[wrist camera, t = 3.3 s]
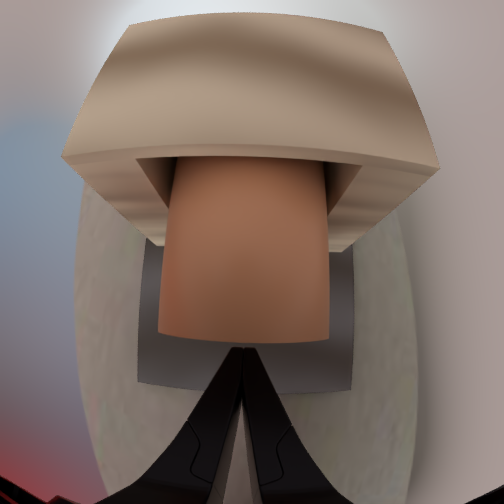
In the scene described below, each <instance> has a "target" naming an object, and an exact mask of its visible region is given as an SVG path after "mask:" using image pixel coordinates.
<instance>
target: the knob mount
mask: <svg viewBox="0 0 504 504" xmlns="http://www.w3.org/2000/svg"><path fill="white" fill-rule="evenodd" d="M178 156H254V157H277V158H293V159H307V160H318V161H323V167H324V178H325V191H326V205H327V221H328V243H329V285H330V311H329V339H326V340H320V341H312V342H298V343H237V342H220V341H208V340H198V339H190V338H182V337H176V336H170V335H166V334H162V333H159V332H158V318H159V301H160V287H161V275H162V264H163V254H164V245H165V236H166V228H167V220H168V213H169V206H170V199H171V192H172V186H173V180H174V174H175V168H176V163H177V157H178ZM61 157H62V158H63V159H64V160H65V162H66V163H67V164H69V165H70V166H71V167H72V168H73V169H74V170H75V171H76V172H77V173H78V174H79V175H80V176H81V177H82V178H83V179H84V180H85V181H86V182H87V183H88V184H89V185H90V186H91V187H92V188H93V189H94V190H95V191H96V192H97V193H98V194H99V195H101V196H102V197H103V198H104V199H105V200H106V201H107V202H108V203H109V204H110V205H111V206H112V207H113V208H115V209H116V210H117V211H118V212H119V213H120V214H121V215H122V216H123V217H124V218H126V219H127V220H128V221H129V222H130V223H131V224H132V225H133V226H134V227H136V228H137V229H138V230H139V231H140V232H141V233H142V234H144V235H145V236H146V237H147V238H146V245H145V254H144V263H143V272H142V283H141V295H140V309H139V328H138V382H141V383H147V384H153V385H160V386H167V387H174V388H182V389H191V390H202V391H205V390H206V388H207V387H208V385H209V383H210V382H211V380H212V378H213V377H214V375H215V373H216V372H217V370H218V368H219V367H220V365H221V363H222V362H223V360H224V358H225V357H226V355H227V353H228V352H229V350H230V348H231V347H233V346H235V347H243V351H244V348H245V347H255V348H256V349H257V351H258V354H259V356H260V358H261V360H262V362H263V365H264V367H265V369H266V371H267V373H268V375H269V377H270V380H271V382H272V384H273V386H274V388H275V390H276V392H277V394H297V393H320V392H335V391H346V390H351V381H352V365H353V343H354V274H353V251H352V243H354V242H355V241H356V240H357V239H359V238H360V237H361V236H362V235H364V234H365V233H366V232H367V231H368V230H370V229H371V228H372V227H373V226H375V225H376V224H377V223H378V222H379V221H381V220H382V219H383V218H384V217H385V216H387V215H388V214H389V213H390V212H391V211H392V210H394V209H395V208H396V207H397V206H398V205H399V204H401V203H402V202H403V201H404V200H405V199H406V198H407V197H409V196H410V195H411V194H412V193H413V192H414V191H415V190H417V189H418V188H419V187H420V186H421V185H422V184H423V183H425V182H426V181H427V180H428V179H429V178H430V177H431V176H432V175H433V174H435V173H436V172H437V171H438V170H439V169H440V166H439V163H438V159H437V156H436V153H435V149H434V146H433V143H432V140H431V137H430V134H429V131H428V128H427V126H426V123H425V120H424V118H423V115H422V112H421V110H420V107H419V105H418V102H417V100H416V98H415V95H414V93H413V91H412V88H411V86H410V84H409V82H408V80H407V78H406V75H405V73H404V71H403V69H402V67H401V65H400V63H399V61H398V59H397V57H396V56H395V54H394V52H393V50H392V48H391V46H390V44H389V43H388V41H387V39H386V37H385V36H384V34H383V32H380V31H376V30H372V29H368V28H364V27H361V26H356V25H352V24H347V23H343V22H337V21H332V20H325V19H320V18H313V17H305V16H297V15H287V14H272V13H210V14H197V15H187V16H178V17H171V18H165V19H158V20H152V21H147V22H142V23H137V24H133V25H129V27H128V28H127V29H126V31H125V32H124V34H123V35H122V37H121V38H120V40H119V41H118V43H117V44H116V46H115V47H114V49H113V51H112V52H111V54H110V55H109V57H108V59H107V60H106V62H105V64H104V65H103V67H102V69H101V70H100V73H99V74H98V76H97V78H96V79H95V81H94V83H93V85H92V87H91V89H90V91H89V93H88V95H87V97H86V99H85V101H84V103H83V105H82V107H81V109H80V111H79V114H78V116H77V118H76V120H75V123H74V126H73V127H72V130H71V132H70V134H69V137H68V139H67V142H66V145H65V148H64V150H63V153H62V156H61Z"/></svg>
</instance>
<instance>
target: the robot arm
mask: <svg viewBox="0 0 504 504" xmlns="http://www.w3.org/2000/svg"><path fill="white" fill-rule="evenodd" d="M241 402H242V410H243V420H244V430H245V439H246V448H247V457H248V466H249V474H250V482H251V490H252V498H253V504H353V503H352V502H351V501H349V500H348V499H346V498H345V497H344V496H342V495H341V494H340V493H339V492H338V491H337V490H336V489H335V488H334V487H333V486H332V485H331V483H330V482H329V481H328V480H327V478H326V477H325V476H324V474H323V473H322V472H321V470H320V469H319V468H318V466H317V465H316V463H315V462H314V461H313V459H312V458H311V457H310V455H309V453H308V452H307V450H306V449H305V447H304V446H303V444H302V442H301V440H300V439H299V437H298V435H297V433H296V431H295V429H294V427H293V426H291V425H292V423H291V421H290V419H289V417H288V415H287V413H286V411H285V409H284V407H283V405H282V403H281V401H280V398H279V396H278V394H277V392H276V390H275V388H274V386H273V384H272V382H271V380H270V377H269V375H268V373H267V371H266V369H265V367H264V365H263V362H262V360H261V358H260V356H259V354H258V351H257V349H256V348H255V347H245V348H244V351H243V347H235V346H233V347H231V348H230V350H229V352H228V353H227V355H226V357H225V358H224V360H223V362H222V363H221V365H220V367H219V368H218V370H217V372H216V373H215V375H214V377H213V378H212V380H211V382H210V383H209V385H208V387H207V388H206V390H205V391H204V393H203V395H202V396H201V398H200V400H199V401H198V403H197V404H196V406H195V408H194V409H193V411H192V412H191V414H190V416H189V417H188V419H187V420H188V421H186V422H185V423H184V425H183V427H182V428H181V430H180V431H179V433H178V434H177V436H176V437H175V438H174V440H173V441H172V442H171V444H170V445H169V446H168V447H167V448H166V450H165V451H164V452H163V453H162V454H161V455H160V457H159V458H158V459H157V460H156V461H155V462H154V463H153V464H152V465H151V467H150V468H149V469H148V470H147V471H146V472H145V473H144V474H143V475H142V476H141V477H140V478H139V479H138V480H136V481H135V482H134V483H132V484H131V485H129V486H127V487H126V488H124V489H122V490H120V491H118V492H116V493H115V494H113V495H111V496H109V497H107V498H105V499H103V500H101V501H99V502H97V503H95V504H222V503H223V498H224V493H225V488H226V483H227V478H228V473H229V468H230V463H231V458H232V452H233V447H234V442H235V436H236V431H237V426H238V420H239V415H240V409H241ZM0 504H79V503H77V502H74V501H72V500H69V499H67V498H64V497H62V496H59V495H56V496H55V497H54V498H52V499H51V500H50V501H49V502H45V501H43V500H42V499H40V498H38V497H36V496H35V495H33V494H31V493H30V492H28V491H27V490H25V489H23V488H22V487H20V486H18V485H16V484H15V483H13V482H12V481H10V480H8V479H6V478H4V477H2V476H1V475H0ZM465 504H504V485H502V486H500V487H498V488H496V489H494V490H492V491H490V492H489V493H486V494H484V495H482V496H480V497H478V498H476V499H473V500H471V501H469V502H467V503H465Z"/></svg>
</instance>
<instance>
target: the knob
mask: <svg viewBox="0 0 504 504" xmlns="http://www.w3.org/2000/svg"><path fill="white" fill-rule="evenodd" d="M329 311H330V285H329V243H328V221H327V205H326V191H325V178H324V167H323V161H318V160H307V159H293V158H277V157H254V156H178V157H177V163H176V168H175V174H174V180H173V186H172V192H171V199H170V206H169V213H168V220H167V228H166V236H165V245H164V254H163V264H162V275H161V287H160V301H159V318H158V332H159V333H162V334H166V335H170V336H176V337H182V338H190V339H198V340H208V341H220V342H237V343H298V342H312V341H320V340H326V339H329Z"/></svg>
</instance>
